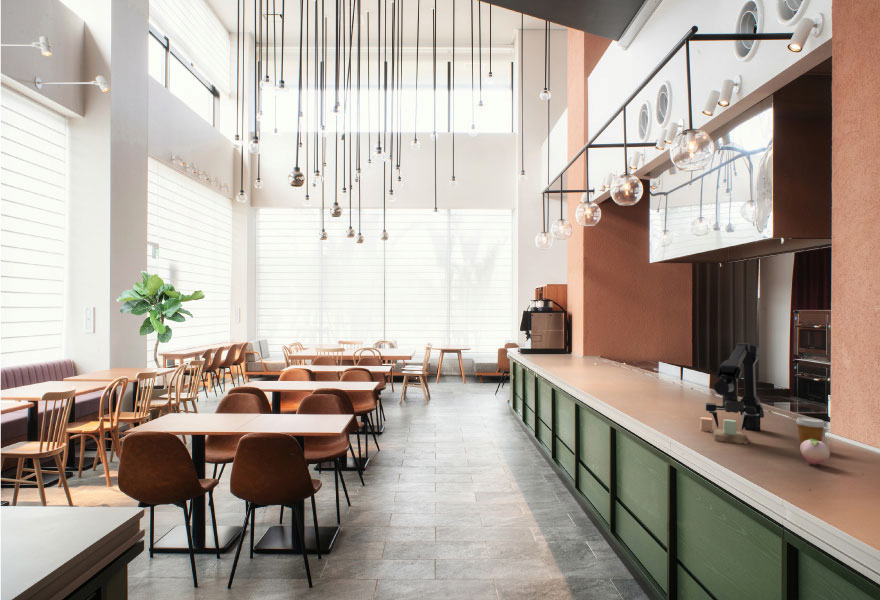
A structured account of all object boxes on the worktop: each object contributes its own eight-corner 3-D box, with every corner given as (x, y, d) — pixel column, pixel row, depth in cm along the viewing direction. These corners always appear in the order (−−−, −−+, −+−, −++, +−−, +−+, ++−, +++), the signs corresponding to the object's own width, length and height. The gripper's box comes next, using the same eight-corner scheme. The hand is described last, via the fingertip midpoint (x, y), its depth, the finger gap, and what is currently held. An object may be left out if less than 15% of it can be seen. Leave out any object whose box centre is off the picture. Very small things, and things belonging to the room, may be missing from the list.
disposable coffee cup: (817, 453, 197) (817, 423, 197) (790, 447, 205) (790, 418, 205) (830, 451, 201) (830, 420, 201) (803, 445, 209) (803, 416, 210)
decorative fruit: (833, 470, 176) (833, 441, 176) (806, 467, 179) (806, 439, 179) (823, 462, 185) (824, 435, 185) (797, 460, 188) (797, 433, 188)
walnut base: (743, 437, 220) (743, 431, 220) (747, 444, 209) (748, 438, 209) (712, 434, 225) (712, 428, 225) (715, 440, 214) (715, 434, 214)
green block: (735, 432, 218) (735, 420, 218) (736, 435, 214) (736, 422, 214) (723, 431, 220) (723, 419, 220) (724, 433, 216) (724, 421, 216)
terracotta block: (711, 429, 234) (711, 418, 234) (712, 432, 230) (712, 419, 230) (700, 428, 236) (700, 417, 236) (701, 430, 232) (701, 418, 232)
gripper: (707, 393, 214) (706, 430, 214) (758, 397, 206) (758, 435, 206) (705, 389, 224) (704, 424, 224) (754, 393, 217) (753, 429, 216)
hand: (729, 428), depth 217 cm, fingers open, 9 cm apart
